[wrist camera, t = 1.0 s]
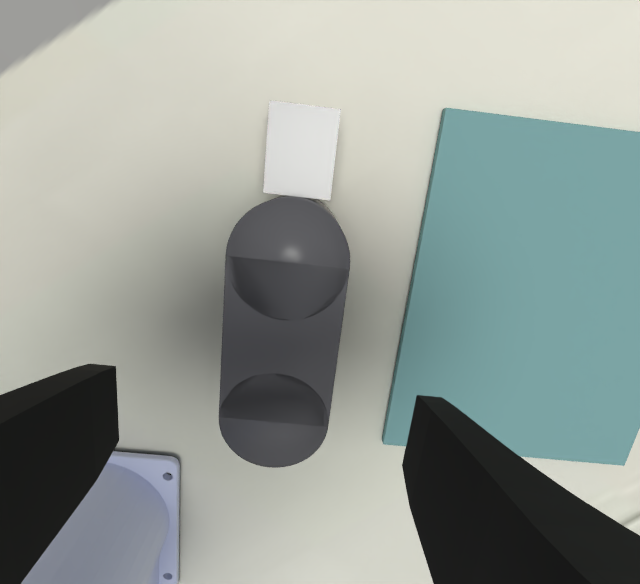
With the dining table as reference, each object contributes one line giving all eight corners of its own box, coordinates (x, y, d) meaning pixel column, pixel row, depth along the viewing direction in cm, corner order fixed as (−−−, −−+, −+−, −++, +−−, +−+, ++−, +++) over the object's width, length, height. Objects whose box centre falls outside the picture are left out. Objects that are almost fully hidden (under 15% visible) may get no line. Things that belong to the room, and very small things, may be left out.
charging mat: (618, 460, 20) (624, 465, 20) (382, 439, 20) (383, 444, 19) (743, 147, 16) (753, 146, 16) (443, 109, 15) (446, 107, 15)
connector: (320, 399, 19) (322, 471, 14) (241, 392, 19) (216, 462, 14) (355, 125, 16) (372, 99, 11) (259, 114, 15) (233, 82, 11)
